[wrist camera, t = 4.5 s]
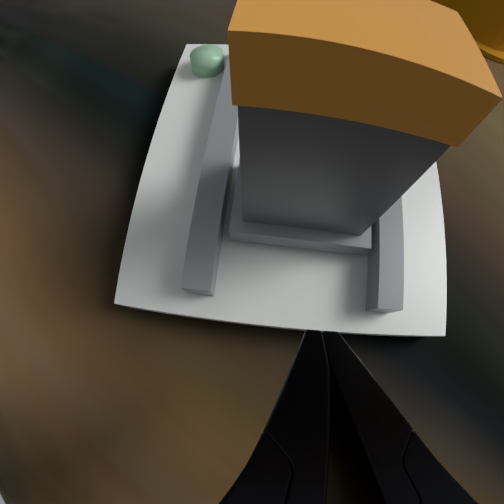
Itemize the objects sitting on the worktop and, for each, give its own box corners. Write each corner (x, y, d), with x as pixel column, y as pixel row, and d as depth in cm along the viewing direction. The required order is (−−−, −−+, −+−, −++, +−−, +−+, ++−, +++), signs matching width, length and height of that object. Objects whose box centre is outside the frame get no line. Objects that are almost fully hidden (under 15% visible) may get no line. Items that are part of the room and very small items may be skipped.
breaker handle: (362, 255, 14) (522, 120, 4) (230, 240, 14) (197, 44, 4) (361, 178, 15) (464, 10, 5) (241, 161, 15) (236, -43, 5)
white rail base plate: (425, 337, 15) (462, 334, 12) (129, 307, 16) (100, 299, 12) (407, 94, 20) (424, 63, 16) (190, 64, 20) (183, 28, 17)
